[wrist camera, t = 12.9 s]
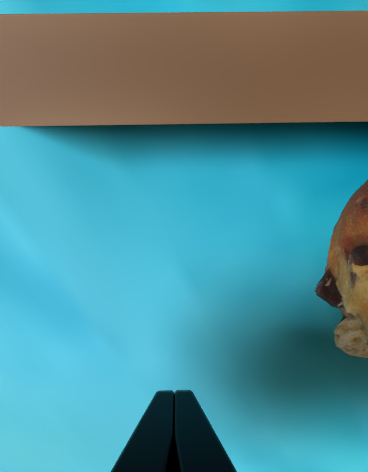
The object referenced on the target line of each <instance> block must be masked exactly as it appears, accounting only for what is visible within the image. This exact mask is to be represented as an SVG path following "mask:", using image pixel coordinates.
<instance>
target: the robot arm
mask: <svg viewBox="0 0 368 472" xmlns="http://www.w3.org/2000/svg"><path fill="white" fill-rule="evenodd" d="M111 472H237V471H236V469H235V467H234V466H233V464H232V462H231V460H230V458H229V457H228V455H227V453H226V451H225V449H224V448H223V446H222V444H221V442H220V440H219V439H218V437H217V435H216V433H215V431H214V430H213V428H212V426H211V424H210V422H209V421H208V419H207V417H206V415H205V413H204V412H203V410H202V408H201V406H200V404H199V403H198V401H197V399H196V397H195V395H194V393H193V392H192V391H191V390H176V391H175V394H174V392H173V391H172V390H165V391H157V392H156V394H155V395H154V397H153V399H152V401H151V402H150V404H149V406H148V408H147V409H146V411H145V413H144V415H143V416H142V418H141V420H140V421H139V423H138V425H137V427H136V428H135V430H134V432H133V434H132V435H131V437H130V439H129V441H128V442H127V444H126V446H125V448H124V449H123V451H122V453H121V455H120V456H119V458H118V460H117V461H116V463H115V465H114V467H113V468H112V470H111Z"/></svg>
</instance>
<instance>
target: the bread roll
mask: <svg viewBox="0 0 368 472" xmlns="http://www.w3.org/2000/svg"><path fill="white" fill-rule="evenodd" d="M315 292H316V295H317V296H319V297H320V298H322V299H323V300H325V301H327V302H328V303H329V304H330V305H331V306H333V307H337V308H339V309H340V311H341V313H342V315H343V318H342V320H341V323H339V324H338V325H337V326H336V328H335V330H334V334H335V335H336V336H334V340H335V344H336V347H338V348H340V349H342V350H343V351H344V352H345V353H347V354H349V355H351V356H358V357H363V358H368V180H367V181H366V182H365V183H364V184H363V185H362V186H361V187H360V188H359V189H358V190H357V191H356V192H355V193H354V194H353V195H352V196H351V198H350V199H349V201H348V203H347V204H346V206H345V207H344V209H343V211H342V213H341V215H340V218H339V220H338V222H337V223H336V225H335V227H334V230H333V235H332V237H331V241H330V246H329V251H328V258H327V267H326V268H325V274H324V276H323V278H322V279H321V280H320V281H319V283H318V285H317V287H316V289H315Z"/></svg>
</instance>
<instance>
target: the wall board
mask: <svg viewBox="0 0 368 472" xmlns="http://www.w3.org/2000/svg"><path fill="white" fill-rule="evenodd" d="M362 121H368V11H290V12H181V13H73V14H0V127H1V126H73V125H145V124H218V123H290V122H362Z"/></svg>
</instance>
